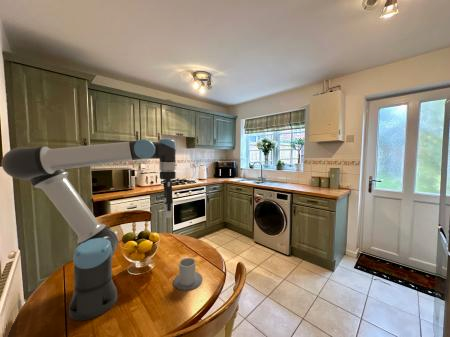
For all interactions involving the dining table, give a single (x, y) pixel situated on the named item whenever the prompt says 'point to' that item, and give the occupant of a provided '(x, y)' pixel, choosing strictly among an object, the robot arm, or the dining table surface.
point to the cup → (187, 271)
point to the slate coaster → (197, 282)
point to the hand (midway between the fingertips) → (167, 213)
